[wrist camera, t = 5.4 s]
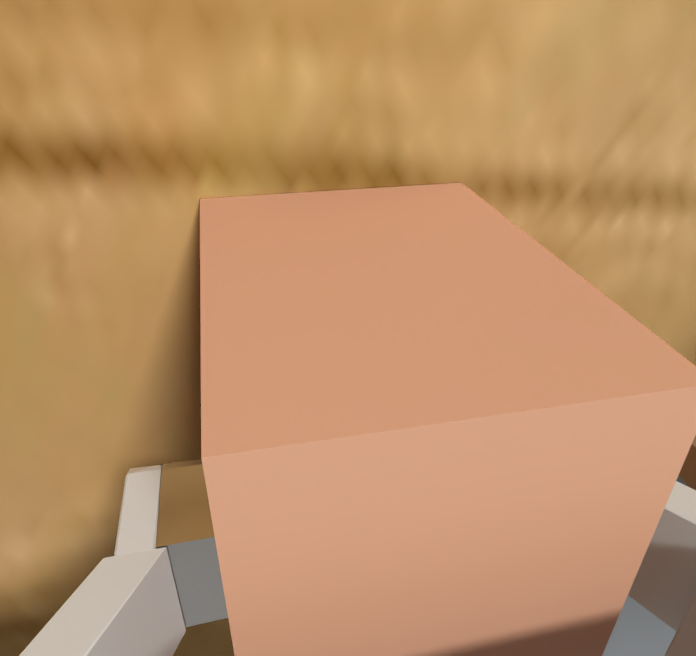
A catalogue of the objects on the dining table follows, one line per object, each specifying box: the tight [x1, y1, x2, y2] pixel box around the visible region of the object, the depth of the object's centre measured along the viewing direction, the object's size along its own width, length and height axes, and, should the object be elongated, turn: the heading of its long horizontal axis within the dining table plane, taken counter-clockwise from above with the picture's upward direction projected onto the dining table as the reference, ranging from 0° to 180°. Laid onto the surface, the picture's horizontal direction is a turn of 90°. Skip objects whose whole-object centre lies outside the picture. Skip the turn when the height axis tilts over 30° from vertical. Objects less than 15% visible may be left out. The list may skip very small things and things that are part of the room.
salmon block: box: [200, 183, 696, 656], centre depth 9 cm, size 8×4×6 cm, turn 179°
